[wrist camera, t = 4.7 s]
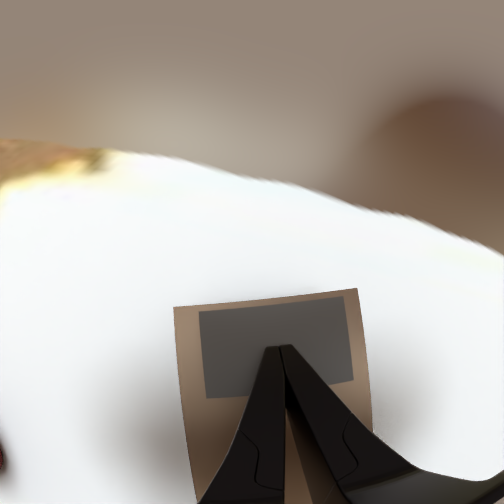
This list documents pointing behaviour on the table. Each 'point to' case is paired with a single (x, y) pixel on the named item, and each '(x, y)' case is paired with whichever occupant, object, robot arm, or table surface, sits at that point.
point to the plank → (229, 410)
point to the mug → (1, 459)
